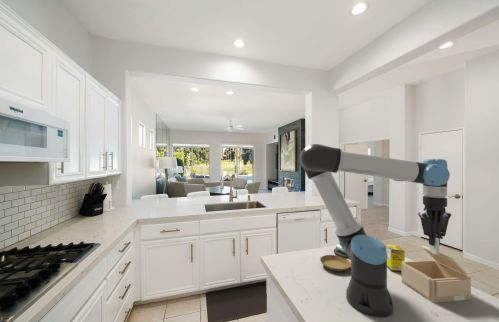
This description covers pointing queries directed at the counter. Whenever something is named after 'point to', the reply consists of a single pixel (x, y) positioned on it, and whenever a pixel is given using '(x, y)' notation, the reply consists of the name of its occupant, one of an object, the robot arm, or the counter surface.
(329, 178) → the robot arm
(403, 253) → the supplement box
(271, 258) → the counter surface
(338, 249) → the brown slatted round stand
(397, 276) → the counter surface
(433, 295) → the carton
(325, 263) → the plant saucer
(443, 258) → the flap
